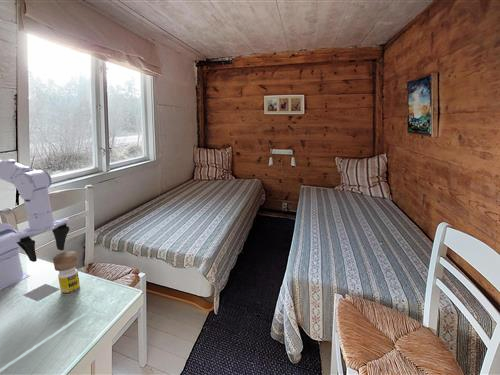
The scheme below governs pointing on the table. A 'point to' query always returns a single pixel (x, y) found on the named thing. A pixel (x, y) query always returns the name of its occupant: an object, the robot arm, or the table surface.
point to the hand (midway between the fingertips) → (47, 254)
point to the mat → (41, 292)
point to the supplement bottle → (69, 281)
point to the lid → (65, 261)
